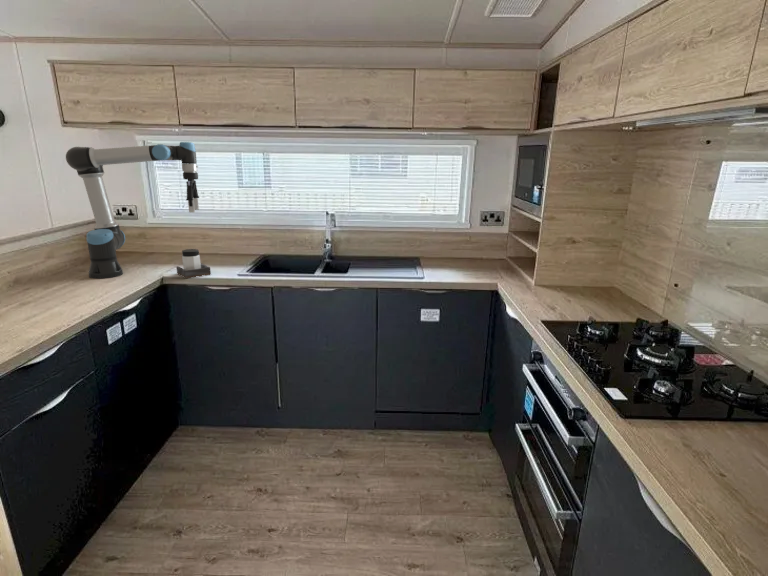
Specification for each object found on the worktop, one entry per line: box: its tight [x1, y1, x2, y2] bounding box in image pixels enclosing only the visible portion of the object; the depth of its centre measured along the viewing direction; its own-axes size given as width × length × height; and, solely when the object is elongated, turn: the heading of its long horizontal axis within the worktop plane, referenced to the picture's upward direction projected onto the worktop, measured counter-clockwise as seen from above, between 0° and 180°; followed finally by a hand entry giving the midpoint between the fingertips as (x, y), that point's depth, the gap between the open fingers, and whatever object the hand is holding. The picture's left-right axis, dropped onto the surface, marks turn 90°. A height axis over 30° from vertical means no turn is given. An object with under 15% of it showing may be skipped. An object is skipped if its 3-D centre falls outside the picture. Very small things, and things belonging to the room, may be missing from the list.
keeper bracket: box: [176, 262, 212, 279], centre depth 231 cm, size 13×13×4 cm
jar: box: [181, 248, 201, 270], centre depth 230 cm, size 9×8×12 cm
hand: (194, 211), depth 241 cm, fingers open, 13 cm apart
